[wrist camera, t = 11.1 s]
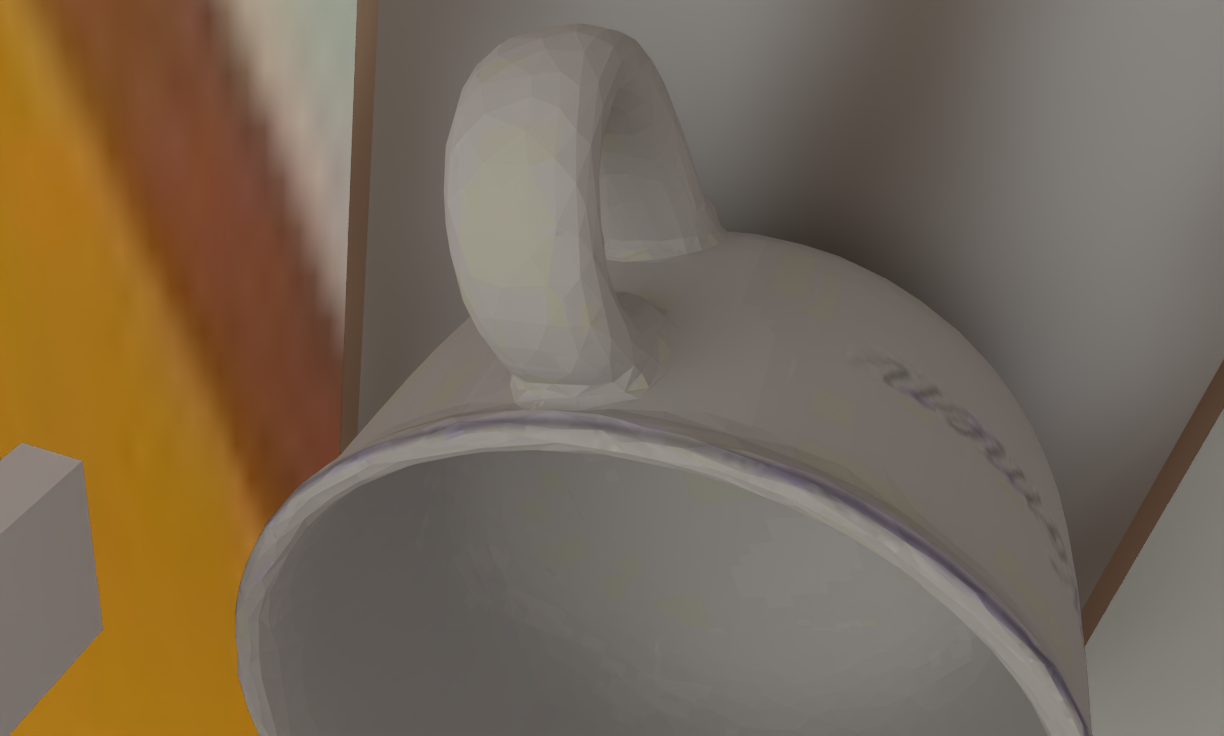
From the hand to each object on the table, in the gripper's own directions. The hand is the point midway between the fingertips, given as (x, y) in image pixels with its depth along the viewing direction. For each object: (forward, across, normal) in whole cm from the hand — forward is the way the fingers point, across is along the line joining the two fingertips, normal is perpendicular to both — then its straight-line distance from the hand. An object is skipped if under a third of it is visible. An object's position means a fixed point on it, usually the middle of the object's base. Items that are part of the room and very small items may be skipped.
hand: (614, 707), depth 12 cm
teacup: (+8, 0, 0) cm, 8 cm away
